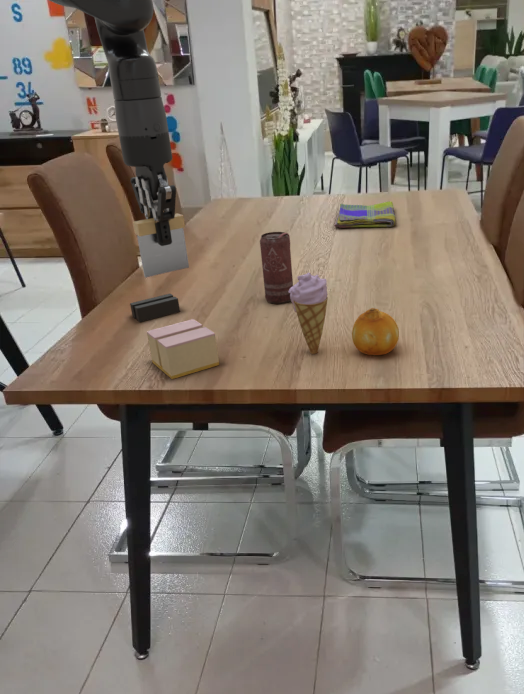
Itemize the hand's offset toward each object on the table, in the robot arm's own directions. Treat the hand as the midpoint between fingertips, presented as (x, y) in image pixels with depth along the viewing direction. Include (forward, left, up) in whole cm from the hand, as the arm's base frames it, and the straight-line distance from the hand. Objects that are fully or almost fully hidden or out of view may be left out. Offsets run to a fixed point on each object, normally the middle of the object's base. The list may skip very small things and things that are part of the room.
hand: (162, 242), depth 115 cm
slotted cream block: (0, -3, -21) cm, 21 cm away
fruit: (+29, -20, -21) cm, 41 cm away
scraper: (0, 0, -5) cm, 5 cm away
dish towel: (+86, +59, -21) cm, 106 cm away
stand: (+5, +25, -21) cm, 33 cm away
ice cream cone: (+20, -13, -21) cm, 32 cm away
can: (+30, +15, -21) cm, 39 cm away
